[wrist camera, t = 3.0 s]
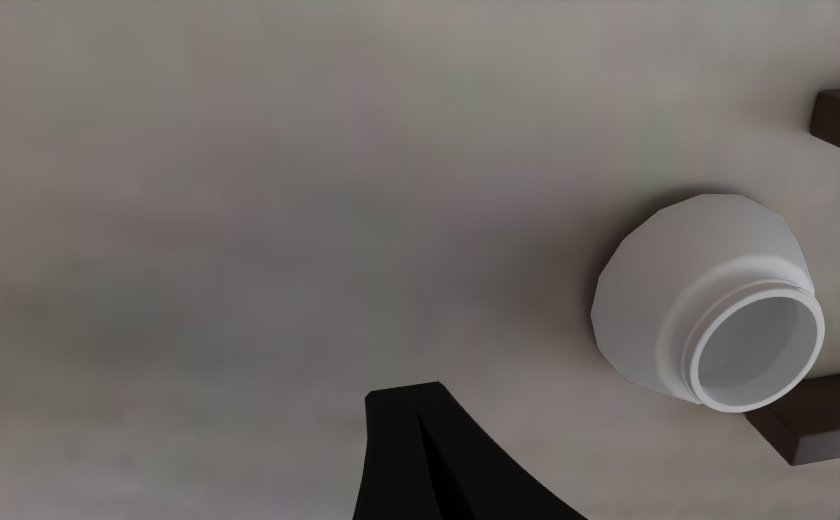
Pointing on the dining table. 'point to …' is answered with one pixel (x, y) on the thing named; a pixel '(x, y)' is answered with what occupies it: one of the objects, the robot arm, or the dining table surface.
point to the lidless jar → (710, 305)
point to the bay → (813, 399)
